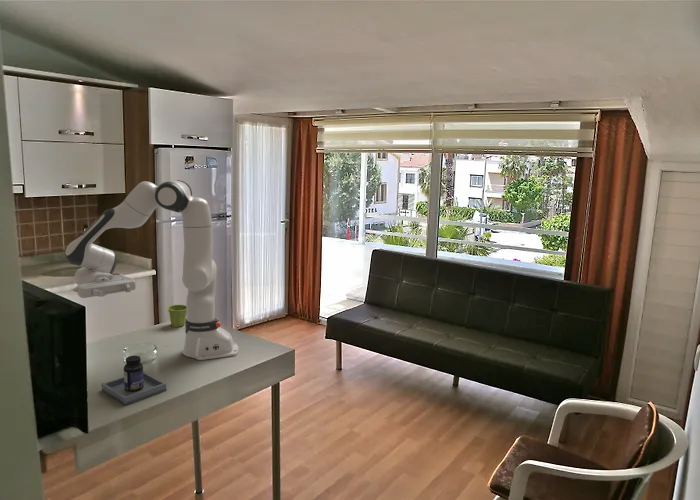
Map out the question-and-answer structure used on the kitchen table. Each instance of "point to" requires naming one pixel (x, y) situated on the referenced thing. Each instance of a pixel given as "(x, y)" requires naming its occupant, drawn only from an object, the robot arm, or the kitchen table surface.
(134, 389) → the pill bottle
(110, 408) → the kitchen table surface
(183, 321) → the object
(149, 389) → the tray
